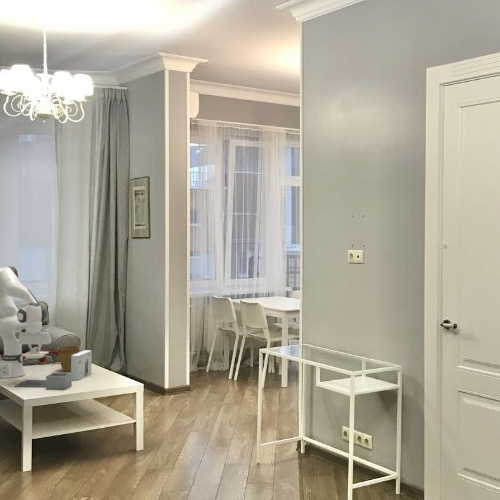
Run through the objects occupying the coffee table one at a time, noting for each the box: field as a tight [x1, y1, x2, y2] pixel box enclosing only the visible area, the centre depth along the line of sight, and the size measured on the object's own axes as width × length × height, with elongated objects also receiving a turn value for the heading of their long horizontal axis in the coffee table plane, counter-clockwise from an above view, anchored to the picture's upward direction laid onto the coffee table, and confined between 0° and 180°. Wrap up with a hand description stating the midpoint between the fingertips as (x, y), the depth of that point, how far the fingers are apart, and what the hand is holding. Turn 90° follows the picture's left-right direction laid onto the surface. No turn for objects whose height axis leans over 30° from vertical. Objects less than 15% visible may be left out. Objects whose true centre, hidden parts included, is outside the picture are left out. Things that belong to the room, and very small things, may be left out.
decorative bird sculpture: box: [23, 349, 59, 365], centre depth 505 cm, size 28×9×15 cm
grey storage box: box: [45, 372, 73, 391], centre depth 429 cm, size 12×10×8 cm
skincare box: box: [70, 349, 93, 381], centre depth 460 cm, size 21×5×16 cm, turn 168°
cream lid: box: [22, 346, 49, 359], centre depth 439 cm, size 13×11×6 cm
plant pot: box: [56, 345, 81, 373], centre depth 480 cm, size 15×15×16 cm
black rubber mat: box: [13, 379, 46, 388], centre depth 440 cm, size 20×18×1 cm
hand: (35, 351), depth 439 cm, fingers closed on cream lid, 3 cm apart
